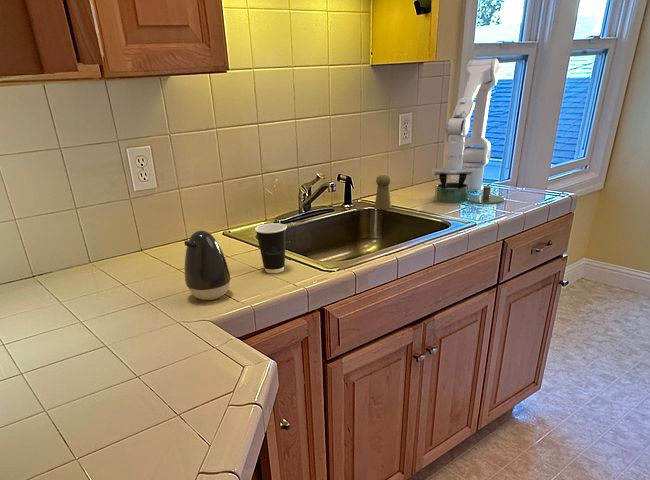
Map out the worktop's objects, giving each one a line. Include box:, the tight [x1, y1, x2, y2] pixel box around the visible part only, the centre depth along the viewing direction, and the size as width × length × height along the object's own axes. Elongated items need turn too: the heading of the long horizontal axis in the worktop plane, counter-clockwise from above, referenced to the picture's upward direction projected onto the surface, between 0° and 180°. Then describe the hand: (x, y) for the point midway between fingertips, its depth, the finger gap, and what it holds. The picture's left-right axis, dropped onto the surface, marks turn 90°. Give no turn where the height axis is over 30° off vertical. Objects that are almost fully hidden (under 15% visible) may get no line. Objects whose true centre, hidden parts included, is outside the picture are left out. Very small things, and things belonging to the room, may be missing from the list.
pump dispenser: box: [183, 230, 232, 301], centre depth 112 cm, size 10×10×15 cm
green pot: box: [434, 182, 469, 205], centre depth 180 cm, size 11×11×6 cm
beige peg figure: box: [374, 174, 393, 210], centre depth 177 cm, size 6×6×11 cm
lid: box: [467, 185, 505, 205], centre depth 177 cm, size 12×12×5 cm
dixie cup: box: [254, 222, 288, 274], centre depth 126 cm, size 8×8×11 cm
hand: (451, 196), depth 180 cm, fingers closed on block, 4 cm apart
